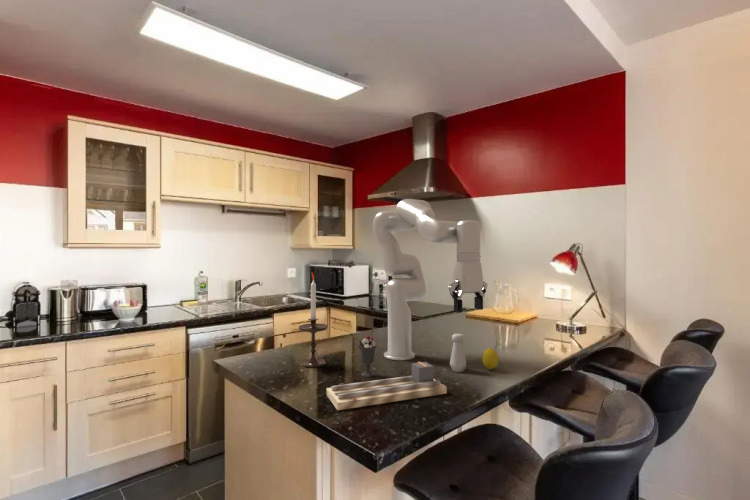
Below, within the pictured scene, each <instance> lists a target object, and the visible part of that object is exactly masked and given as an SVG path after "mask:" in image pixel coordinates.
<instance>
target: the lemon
mask: <svg viewBox="0 0 750 500" xmlns="http://www.w3.org/2000/svg"><path fill="white" fill-rule="evenodd" d="M498 354H499V353H497V351H496V350H495V349H493V348H492V347H489V348H487V349H485V350H484V352H483V353H482V357H481V359H482V364H483V366H484V368H485V367H486V368H487V369H488V370H489V371H491V370H493V369H494V368H496V367H497V366H498V365H499V355H498Z"/></svg>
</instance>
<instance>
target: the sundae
mask: <svg viewBox="0 0 750 500" xmlns="http://www.w3.org/2000/svg"><path fill="white" fill-rule="evenodd" d="M372 333H374V330H371V332H370V333H369V335H366V336H365V337H364V338H363V339H362V340H359V341H358V343H359V344H358V349H359V350H360V356H361V361H362V363H363V364H364V365H365V371H364V372H362V373H360V376H361V377H365V378H371V377H372V378H373V377H375V375H376V373H375V372H372V371H371V369H370V366H371V364H373V363H374V359H375V354H376V348H377V347H378V345H377V344H376V341H375V340H374V337H373V336H370V335H372Z"/></svg>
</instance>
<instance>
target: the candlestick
mask: <svg viewBox="0 0 750 500" xmlns="http://www.w3.org/2000/svg"><path fill="white" fill-rule="evenodd" d="M311 278H312V282H311V283H310V318H308V319H307V320H308V321H310V323H305V324H300V325H299V326H298V331H300V332H306V333H309V334H311V339H310V340H311V342H310V343H309V346H310V350H309V352H310V354H311V357H310V358H308V359H304V360H302V361H301V362H300V366H303V368H306V369H307V368H308V369H315V368H321V367H324V366H325V365H326V360H325V359H324V358H323V359H322V358H317V357H316V353H317V350H316V348H317V345H318V343H317V342H316V333H318V332H323V331H327V330H328V329H329V328H328V327H329V326H328V324H325V323H317V320H319V318H317V316H316V315H317V314H316V313H317V311H316V310H317V305H316V304H317V285H316V283H315V275H314V273H313V271H311Z"/></svg>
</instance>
